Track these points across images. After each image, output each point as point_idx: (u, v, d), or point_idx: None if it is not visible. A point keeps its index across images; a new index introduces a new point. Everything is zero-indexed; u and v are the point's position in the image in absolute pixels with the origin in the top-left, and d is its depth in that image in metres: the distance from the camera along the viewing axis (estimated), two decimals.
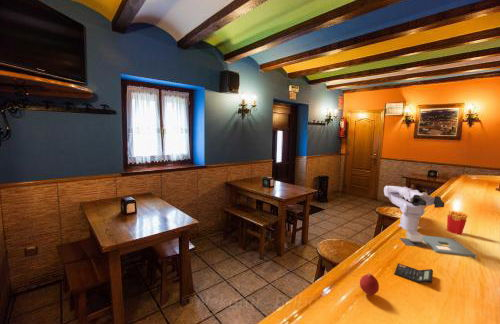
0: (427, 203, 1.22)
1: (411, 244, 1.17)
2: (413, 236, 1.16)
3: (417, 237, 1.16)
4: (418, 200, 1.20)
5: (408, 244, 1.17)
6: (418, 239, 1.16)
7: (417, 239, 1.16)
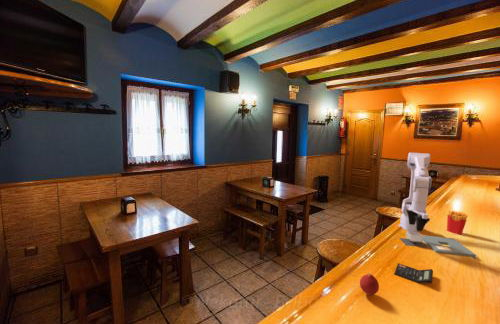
0: None
1: (411, 244, 1.17)
2: (413, 236, 1.16)
3: (417, 237, 1.16)
4: None
5: (408, 244, 1.17)
6: (418, 239, 1.16)
7: (417, 239, 1.16)
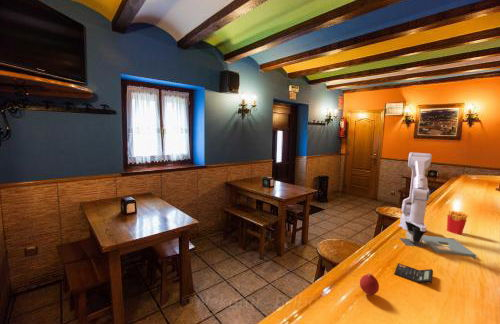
0: None
1: (411, 244, 1.17)
2: (413, 236, 1.16)
3: None
4: None
5: (408, 244, 1.17)
6: None
7: None
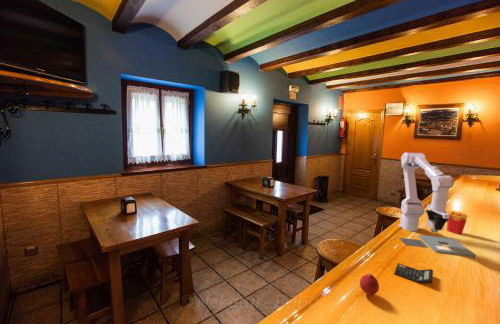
0: None
1: (411, 244, 1.17)
2: None
3: None
4: None
5: (408, 244, 1.17)
6: None
7: None
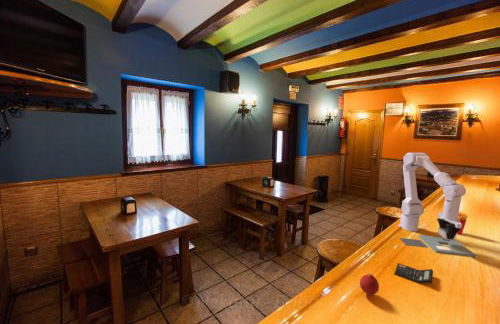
0: None
1: (411, 244, 1.17)
2: None
3: None
4: None
5: (408, 244, 1.17)
6: None
7: None
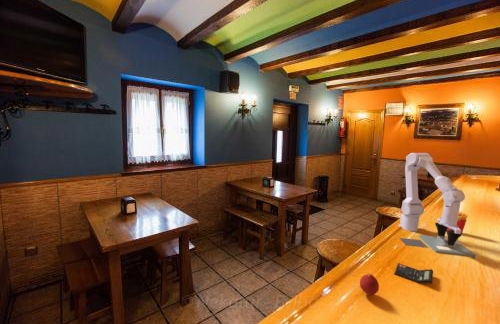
0: None
1: (411, 244, 1.17)
2: (445, 242, 1.14)
3: None
4: None
5: (408, 244, 1.17)
6: None
7: None
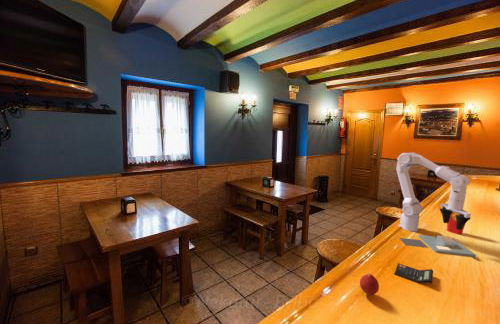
0: None
1: (411, 244, 1.17)
2: (445, 242, 1.14)
3: (450, 243, 1.14)
4: None
5: (408, 244, 1.17)
6: (450, 244, 1.14)
7: (449, 244, 1.14)
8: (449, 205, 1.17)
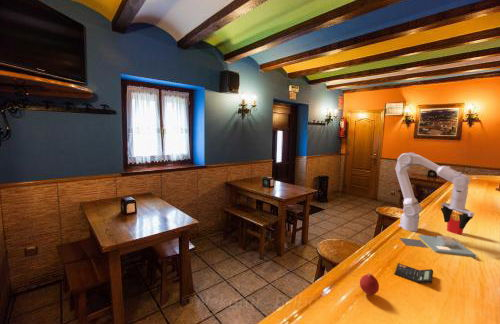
0: None
1: (411, 244, 1.17)
2: (445, 242, 1.14)
3: (450, 243, 1.14)
4: None
5: (408, 244, 1.17)
6: (450, 244, 1.14)
7: (449, 244, 1.14)
8: (451, 204, 1.19)
